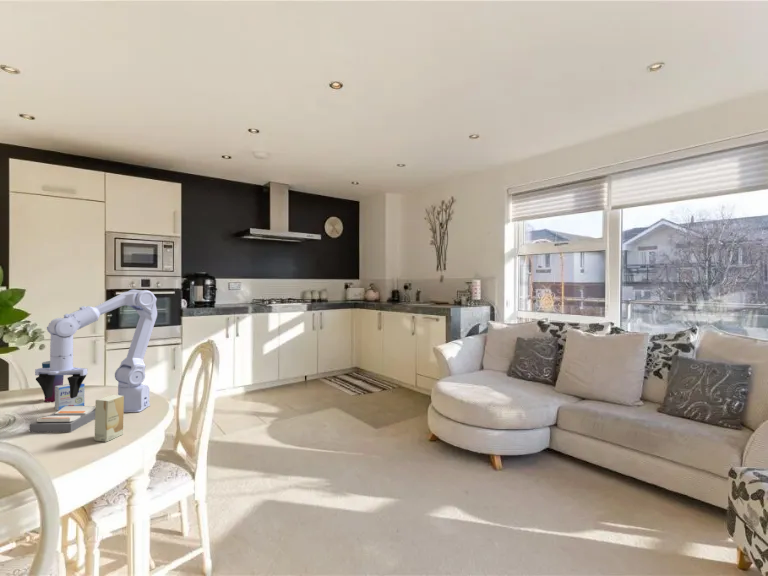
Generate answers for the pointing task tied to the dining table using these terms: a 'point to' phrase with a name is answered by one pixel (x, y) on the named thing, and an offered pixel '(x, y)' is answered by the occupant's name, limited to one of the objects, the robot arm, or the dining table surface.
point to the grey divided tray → (61, 424)
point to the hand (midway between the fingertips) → (61, 397)
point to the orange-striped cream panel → (75, 410)
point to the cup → (57, 382)
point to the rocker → (58, 418)
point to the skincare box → (109, 417)
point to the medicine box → (68, 396)
